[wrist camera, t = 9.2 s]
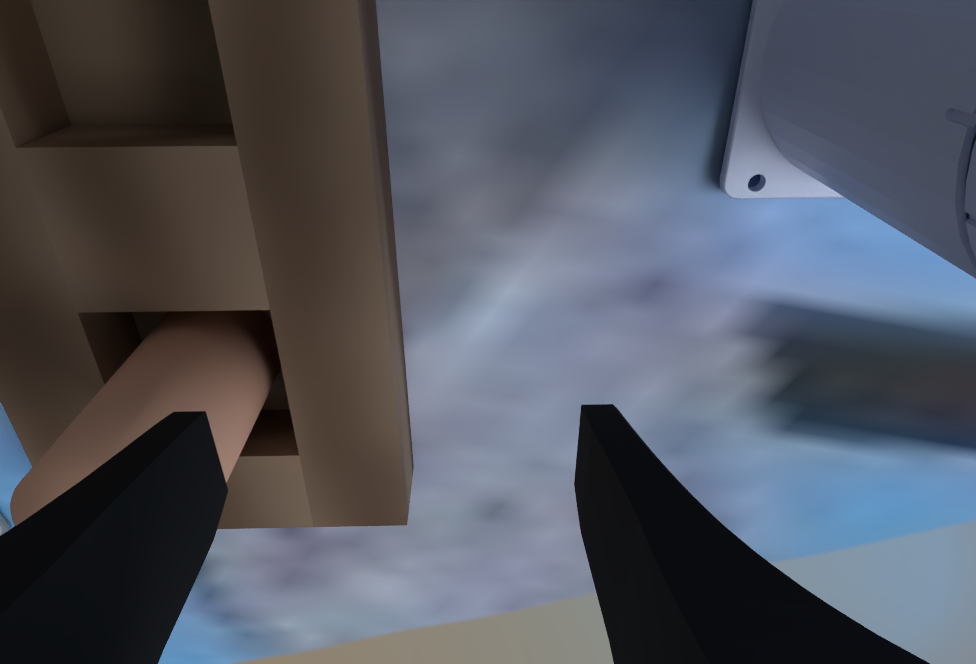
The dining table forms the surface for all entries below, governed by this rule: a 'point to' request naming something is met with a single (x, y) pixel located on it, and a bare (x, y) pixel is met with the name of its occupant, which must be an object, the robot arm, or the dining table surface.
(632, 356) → the dining table surface
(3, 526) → the skincare box
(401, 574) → the dining table surface
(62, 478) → the pin
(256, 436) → the bore board
